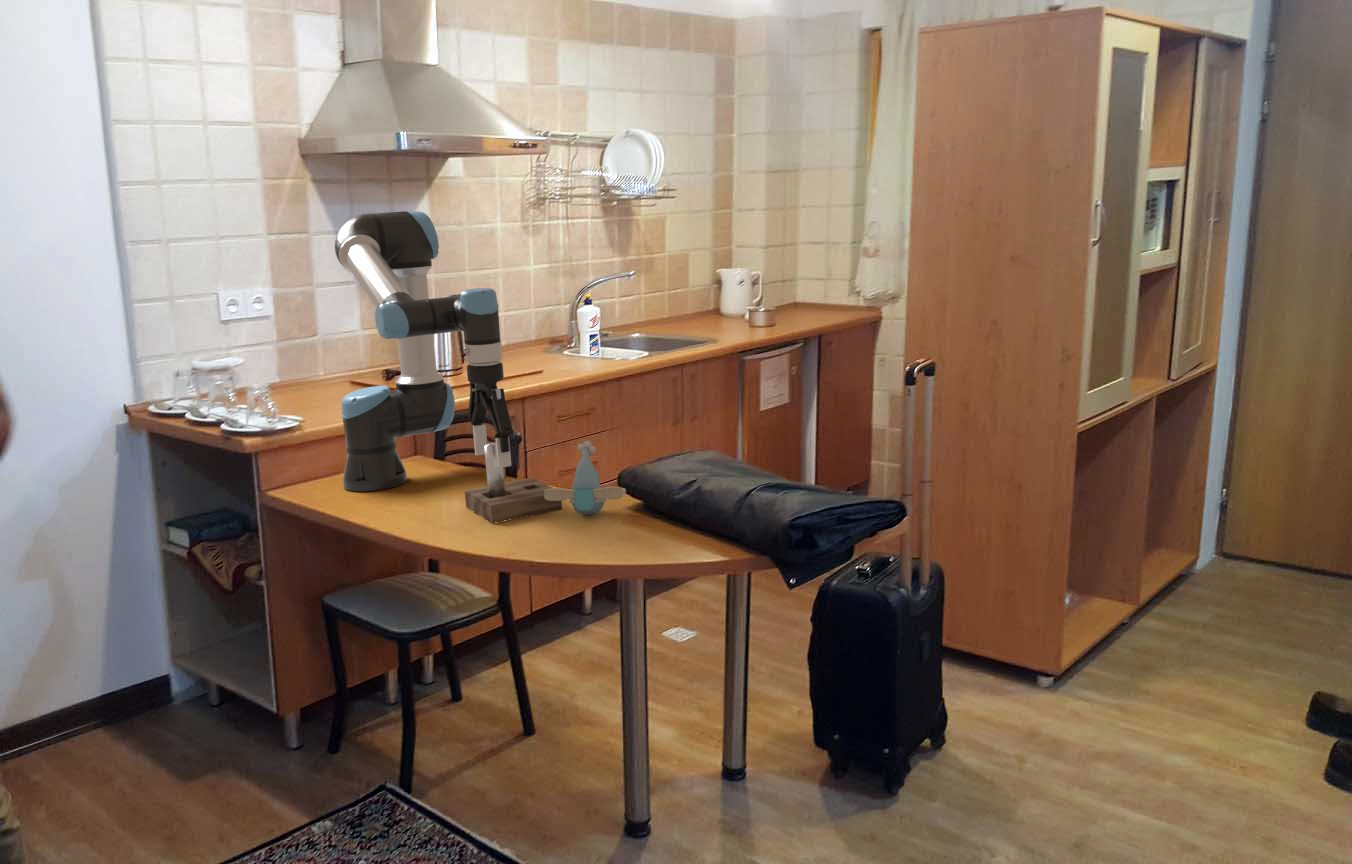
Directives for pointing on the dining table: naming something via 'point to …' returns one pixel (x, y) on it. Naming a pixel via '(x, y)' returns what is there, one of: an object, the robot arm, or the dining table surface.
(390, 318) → the robot arm
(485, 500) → the block
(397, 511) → the dining table surface
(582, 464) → the toy figure
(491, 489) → the pin
